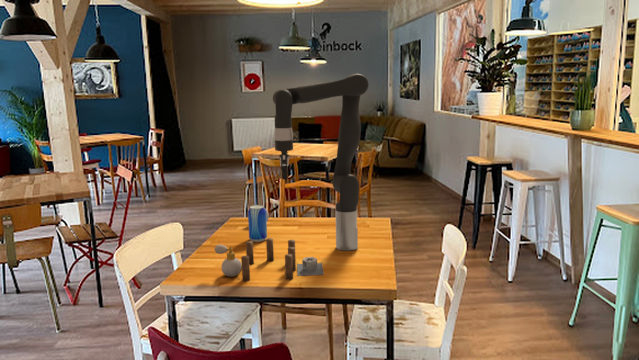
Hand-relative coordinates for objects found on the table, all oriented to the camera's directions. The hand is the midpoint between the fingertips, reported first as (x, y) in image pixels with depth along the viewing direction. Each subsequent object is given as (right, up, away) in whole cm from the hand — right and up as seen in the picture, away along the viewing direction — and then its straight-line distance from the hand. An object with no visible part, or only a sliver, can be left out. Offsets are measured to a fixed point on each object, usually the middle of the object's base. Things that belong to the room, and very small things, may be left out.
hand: (285, 177), depth 197 cm
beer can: (-14, -29, +25) cm, 41 cm away
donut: (-17, -25, +49) cm, 57 cm away
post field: (-5, -36, -12) cm, 38 cm away
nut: (+11, -36, -13) cm, 40 cm away
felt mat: (+11, -36, -13) cm, 40 cm away
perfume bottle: (-20, -38, -17) cm, 46 cm away
